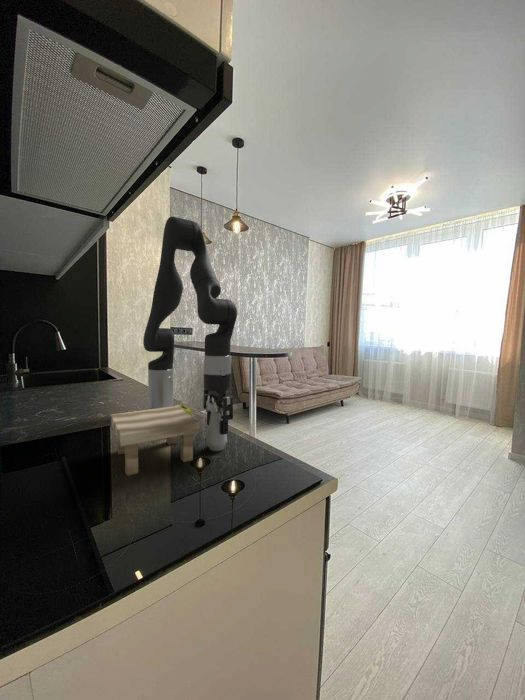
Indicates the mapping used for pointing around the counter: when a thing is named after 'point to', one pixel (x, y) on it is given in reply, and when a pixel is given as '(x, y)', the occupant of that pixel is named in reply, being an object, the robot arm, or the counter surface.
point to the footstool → (153, 432)
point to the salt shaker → (215, 432)
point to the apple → (185, 408)
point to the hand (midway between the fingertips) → (217, 429)
